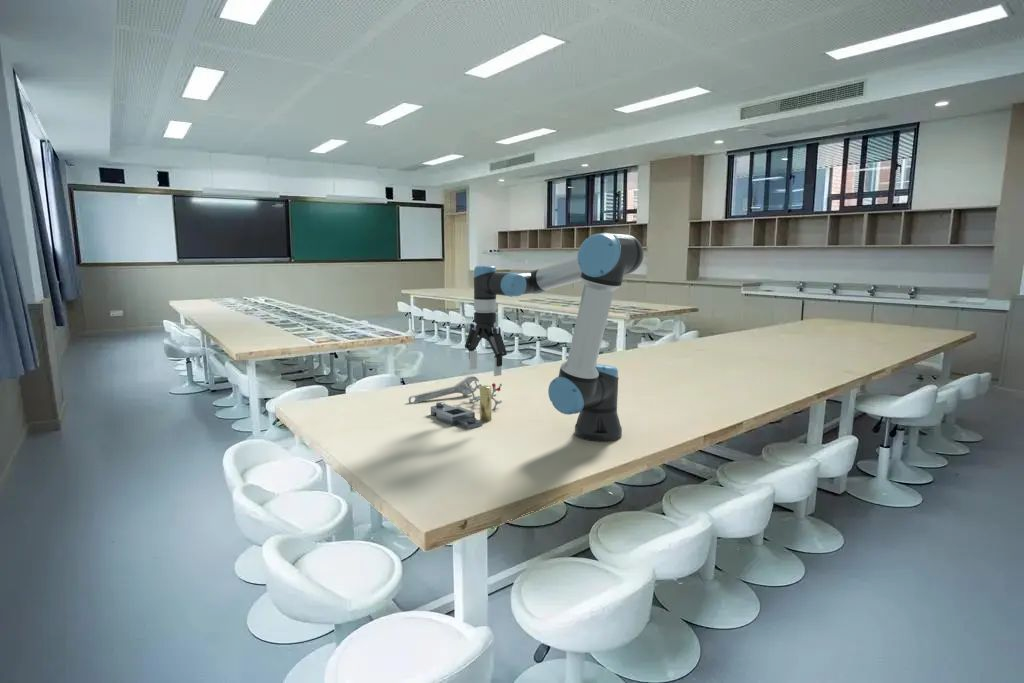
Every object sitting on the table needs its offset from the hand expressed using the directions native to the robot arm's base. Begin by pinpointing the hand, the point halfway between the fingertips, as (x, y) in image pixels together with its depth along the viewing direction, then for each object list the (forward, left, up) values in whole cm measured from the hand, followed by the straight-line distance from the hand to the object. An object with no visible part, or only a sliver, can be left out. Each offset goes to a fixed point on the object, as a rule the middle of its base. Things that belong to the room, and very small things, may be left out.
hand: (485, 372), depth 192 cm
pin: (0, 0, -17) cm, 17 cm away
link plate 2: (+4, +8, -17) cm, 19 cm away
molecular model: (+16, -11, -18) cm, 26 cm away
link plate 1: (+10, +8, -17) cm, 21 cm away
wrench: (+33, -6, -18) cm, 38 cm away
